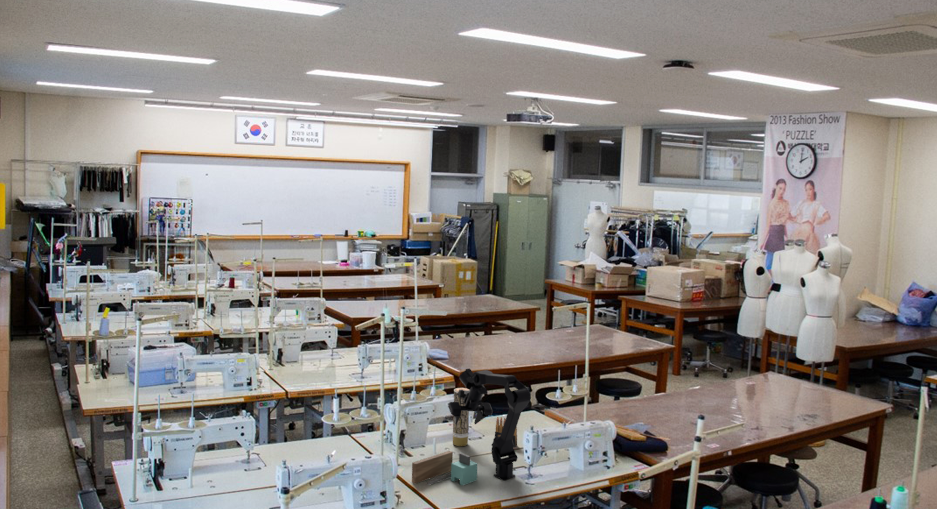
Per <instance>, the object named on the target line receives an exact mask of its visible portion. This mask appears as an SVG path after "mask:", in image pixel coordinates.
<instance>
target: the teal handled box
mask: <svg viewBox="0 0 937 509" xmlns="http://www.w3.org/2000/svg"><path fill="white" fill-rule="evenodd" d="M458 456H459V457H458V461H455V462H452V463H451V471H450V473H451V478H450V481H452V482H453V481H454V482H457V481H459V485H460V486H465V485H468V484H470V482H471V483H473V482H477V481H478V465H479V464H478V462H475V461H473V460H471V456H470V455H468V454H466V453H463V452H460V453H459V454H458ZM459 479H460V480H459Z"/></svg>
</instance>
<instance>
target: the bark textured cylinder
mask: <svg viewBox="0 0 937 509" xmlns="http://www.w3.org/2000/svg"><path fill="white" fill-rule="evenodd" d="M459 390H466V391H470V389H468V388H466V387H457V388H454V389H453V402H459V405H460V406H465V403H463V399H462V398H459V397H458V392H459ZM469 412H470V411H461V414H460V418H459V420H458V422H457V424H455V420H454V416H453V415H452V416H453V419H452V421H453V422H452V424H453V425H452V444H453V446H456V447H465V446H467V445H468V440H469V418H470V417H469V416H470V415H469Z"/></svg>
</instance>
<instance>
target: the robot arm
mask: <svg viewBox="0 0 937 509" xmlns="http://www.w3.org/2000/svg"><path fill="white" fill-rule="evenodd" d="M459 380H460V381H461V383H462V384H463V385H464V386H465V387H464V388H467V389H469V391H466V390H459V392H458V397H459V398H462V399H463V403H465V406H460V405H459V402H454V401H449V403H448V405H447V407H448V409H449V412H450V415H451V416H454V420H455V424H457V422H458V420H459V418H460V414H461V411H469V412H477V414H476V417H475V419H474V425H477V424H478V423H479V422H482V420H484V419H486V418H488V417H489V416H490V417H491V416H492V415H493V411H494V410H493V408H492V406H491V403H490V402H482V398H483V396H484V395H487V394H488V393H489V392H488V390H487V388H486V387H485V386H484V385H488V384H490V385H497V386H503V388H504V395H505V397H506V398H507V405H508V411H507V414H506V417H505V419H506V420H505V423H504V426H503V429H502V432H501V435H500V436H499V437H495V436H494V438H493V441H492V444H491V449H490V450H491V457H492V462H493V463H494V465H495V473H494V474H493V477H495V478H498V479H500V480H503V481H507V480H511V479H513V478H515V477H516V475H515V474H513V473H514V463H515V462H518V455H517V453H516V451H515V449H514V448H515V447H514V444H513V441H512V438H513V435H514V432H515V429H516V426H518V422H519V420H520V417H521V413H522V411H524V410H525V409H526V408H527V406H528V405H529V403H530V402H531V398H532V397H531V393H530V391H529V390H528V387H527V386H526V385H525V384H524V383H523V382H520V381H519V379H517V377H516V375H514V374H513V375H512V374H510V375H508V374H499V373H493V372H492V371H490V370H488V369H486V370H485V369H484V370H479V371H474V372H473V371H472V369H471V368H465V370H464V371H463V372H462V373H461V374H460V375H459ZM510 386H513V388H515V390H512V389H510Z"/></svg>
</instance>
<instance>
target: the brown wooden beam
mask: <svg viewBox="0 0 937 509" xmlns="http://www.w3.org/2000/svg"><path fill="white" fill-rule="evenodd" d="M451 463H453V451H451V450H446V451H444V452H441V453H438V454H435V455H431V456H429V457H425V458H423V459H420V460H416V461H413V462H412V464H411V483H413V484H418V482H419V483H421V482H424V481H426V485H427V486H431V485H433V484H436V483H439V482H442V481H444V480H447V479H451ZM429 478H430V479H429ZM430 484H431V485H430Z"/></svg>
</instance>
